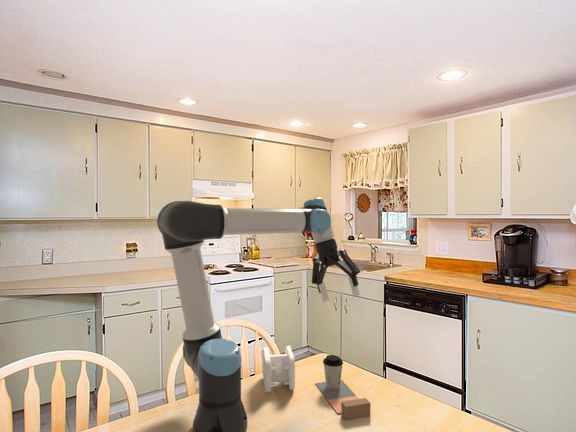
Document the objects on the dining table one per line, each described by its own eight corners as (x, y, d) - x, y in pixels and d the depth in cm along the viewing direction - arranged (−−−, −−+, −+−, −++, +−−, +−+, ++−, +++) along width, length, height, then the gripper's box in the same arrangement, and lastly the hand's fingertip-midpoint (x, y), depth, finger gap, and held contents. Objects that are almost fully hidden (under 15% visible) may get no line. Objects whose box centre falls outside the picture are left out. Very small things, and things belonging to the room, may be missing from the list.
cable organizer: (295, 394, 125) (295, 360, 124) (263, 396, 123) (263, 361, 123) (290, 374, 139) (289, 343, 139) (261, 376, 138) (261, 345, 138)
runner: (373, 415, 112) (373, 402, 112) (342, 420, 109) (342, 407, 109) (341, 380, 134) (341, 369, 134) (315, 384, 132) (315, 372, 132)
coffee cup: (347, 389, 127) (347, 360, 127) (328, 393, 125) (328, 363, 124) (336, 380, 134) (336, 352, 134) (319, 384, 131) (319, 355, 131)
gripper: (358, 230, 130) (376, 290, 127) (305, 247, 146) (320, 300, 143) (346, 233, 124) (364, 296, 121) (293, 249, 140) (308, 305, 138)
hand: (341, 298), depth 132 cm, fingers open, 13 cm apart
